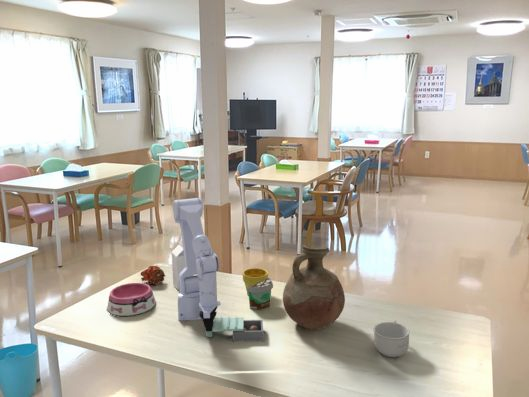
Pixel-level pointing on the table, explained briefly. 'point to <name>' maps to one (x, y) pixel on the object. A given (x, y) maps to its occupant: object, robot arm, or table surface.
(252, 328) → the walnut ball
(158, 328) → the table surface
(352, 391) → the table surface
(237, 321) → the teal ridged block
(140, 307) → the dog bowl
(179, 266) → the milk carton
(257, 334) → the tub
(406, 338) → the teacup
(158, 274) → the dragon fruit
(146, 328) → the table surface
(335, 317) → the jug
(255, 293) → the food container
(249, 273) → the plant pot
